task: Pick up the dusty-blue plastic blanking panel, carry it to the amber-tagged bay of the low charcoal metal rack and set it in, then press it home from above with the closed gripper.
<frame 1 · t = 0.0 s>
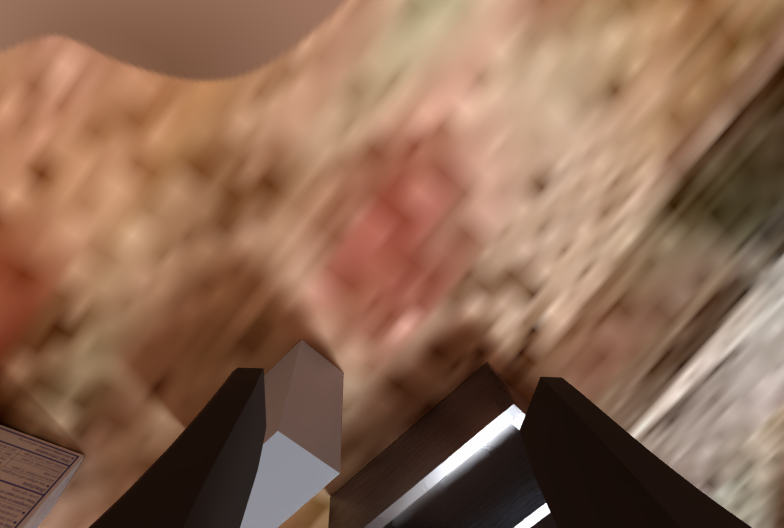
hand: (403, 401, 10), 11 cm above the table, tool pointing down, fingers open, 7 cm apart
blanking panel: (270, 405, 22), on the table
rack: (507, 511, 26), on the table
medicine box: (4, 449, 21), on the table
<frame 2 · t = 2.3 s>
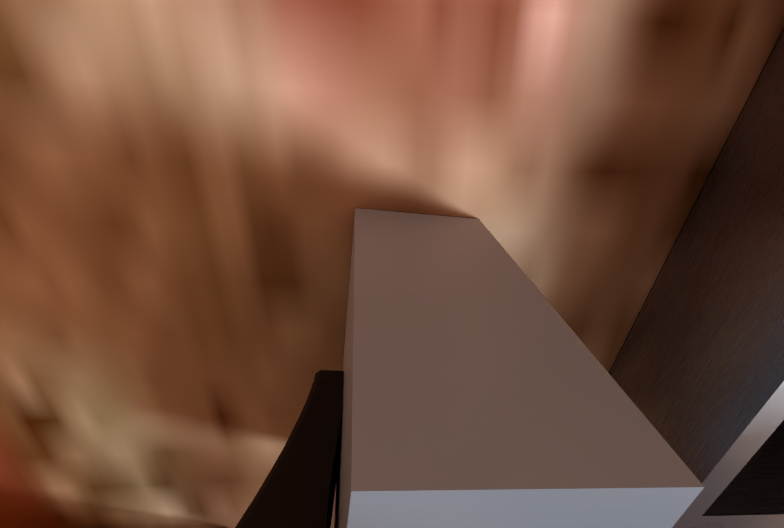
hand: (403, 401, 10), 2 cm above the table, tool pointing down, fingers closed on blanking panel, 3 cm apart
blanking panel: (396, 351, 11), on the table, touching gripper
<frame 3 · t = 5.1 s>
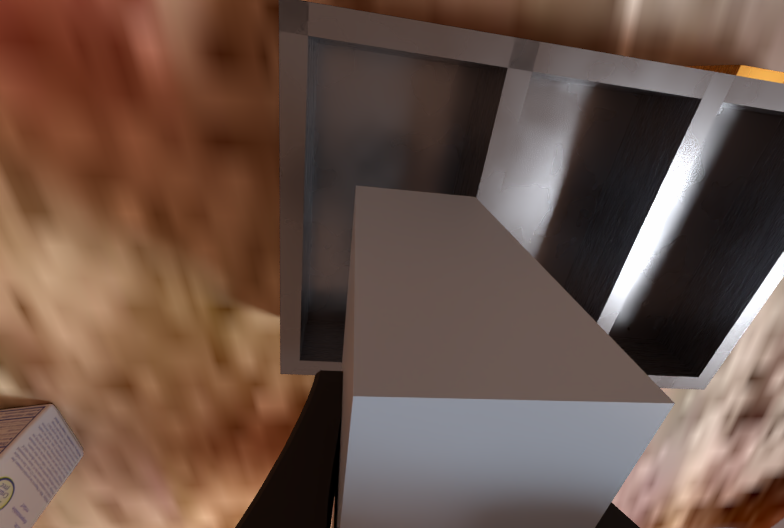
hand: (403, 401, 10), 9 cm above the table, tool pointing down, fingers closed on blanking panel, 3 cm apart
blanking panel: (395, 329, 12), point 7 cm above the table, touching gripper
rack: (519, 219, 18), on the table
medicine box: (5, 431, 22), on the table
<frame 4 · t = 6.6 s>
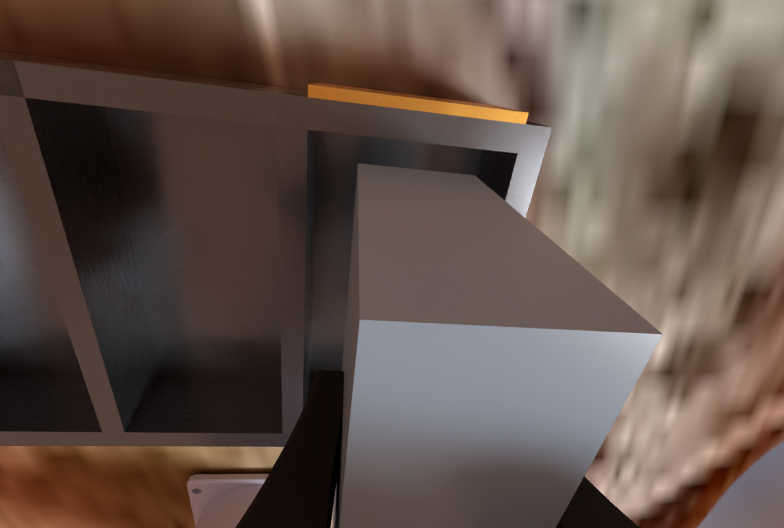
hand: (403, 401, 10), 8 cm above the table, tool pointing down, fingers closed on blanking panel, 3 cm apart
blanking panel: (396, 309, 12), point 5 cm above the table, touching gripper
rack: (223, 257, 15), on the table
when the fingers open (5 cm above the table, at t = 7.8 s): blanking panel stays where it is, resting on rack.
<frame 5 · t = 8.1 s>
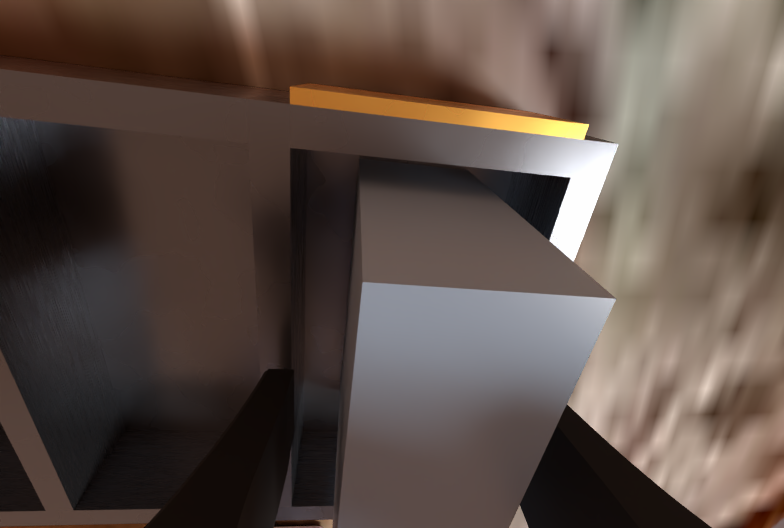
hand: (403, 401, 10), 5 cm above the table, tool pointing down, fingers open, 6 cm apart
blanking panel: (394, 296, 13), point 1 cm above the table, touching rack
rack: (196, 293, 13), on the table
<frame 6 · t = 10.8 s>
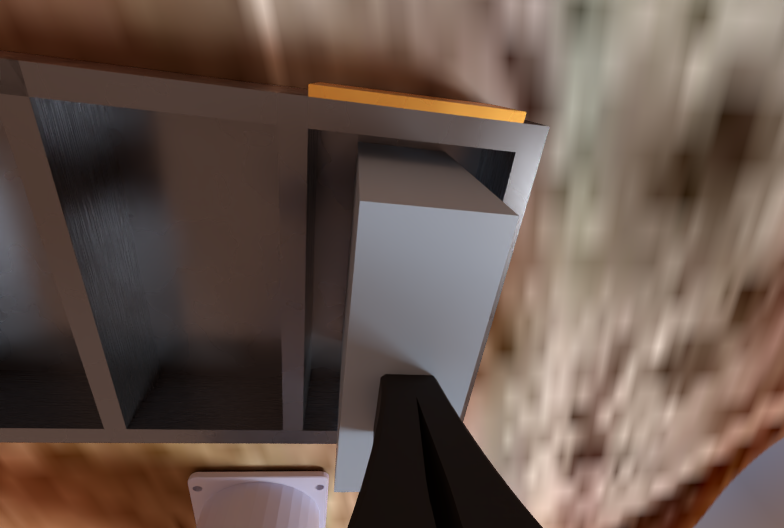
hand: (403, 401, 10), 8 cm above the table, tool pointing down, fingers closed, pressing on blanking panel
blanking panel: (387, 257, 15), point 1 cm above the table, touching gripper, rack
rack: (224, 255, 16), on the table
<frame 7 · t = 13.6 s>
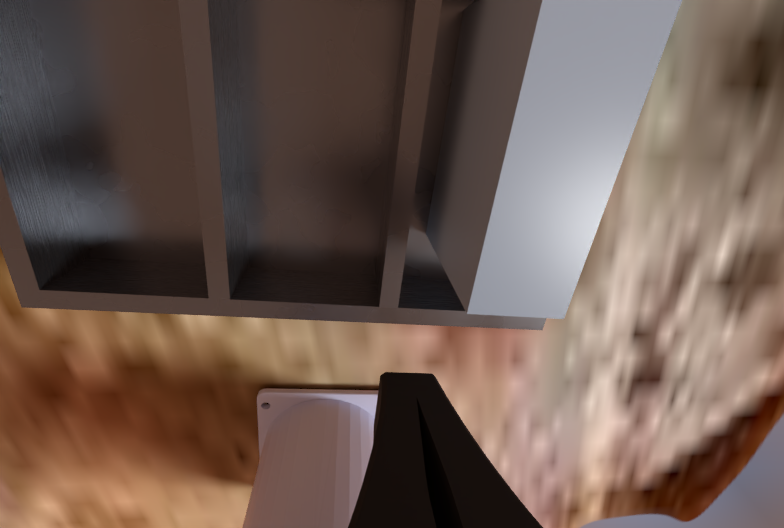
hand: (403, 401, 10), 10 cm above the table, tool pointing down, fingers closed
blanking panel: (478, 139, 16), point 1 cm above the table, touching rack
rack: (319, 139, 16), on the table
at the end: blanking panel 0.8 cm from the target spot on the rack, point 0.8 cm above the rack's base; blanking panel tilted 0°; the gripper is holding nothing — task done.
